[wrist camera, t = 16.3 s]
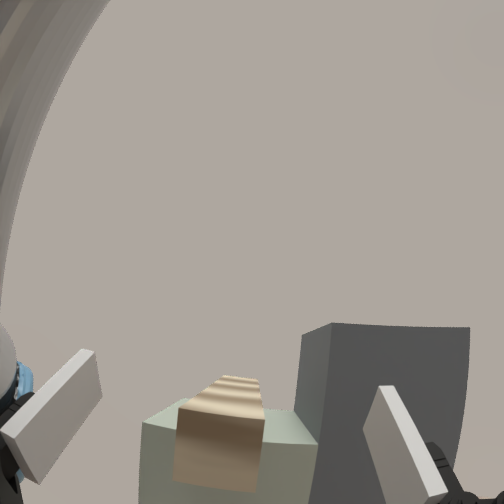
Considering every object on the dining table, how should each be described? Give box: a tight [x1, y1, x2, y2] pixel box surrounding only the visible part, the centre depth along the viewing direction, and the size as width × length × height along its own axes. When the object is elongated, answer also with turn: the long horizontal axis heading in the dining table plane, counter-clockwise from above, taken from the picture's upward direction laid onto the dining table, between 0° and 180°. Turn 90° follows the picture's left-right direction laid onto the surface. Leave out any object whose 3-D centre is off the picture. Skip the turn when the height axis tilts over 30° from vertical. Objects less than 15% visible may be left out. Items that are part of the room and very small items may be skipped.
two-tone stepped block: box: [139, 323, 470, 504], centre depth 27 cm, size 16×28×30 cm, turn 90°
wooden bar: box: [172, 375, 265, 493], centre depth 24 cm, size 24×4×4 cm, turn 0°
